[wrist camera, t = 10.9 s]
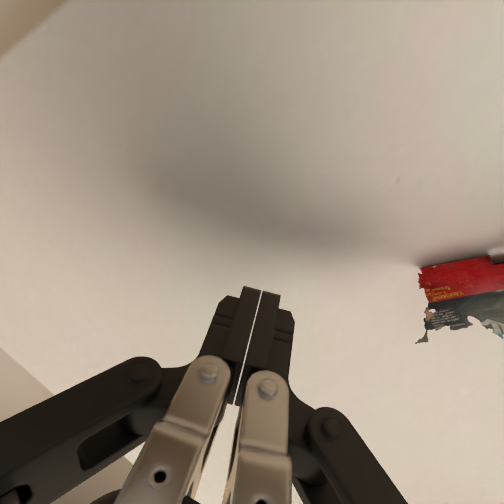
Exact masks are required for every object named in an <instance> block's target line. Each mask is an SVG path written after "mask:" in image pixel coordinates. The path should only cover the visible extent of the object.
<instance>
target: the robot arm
mask: <svg viewBox="0 0 504 504" xmlns="http://www.w3.org/2000/svg"><path fill="white" fill-rule="evenodd" d="M260 293H261V290H258V289H254V288H250V287H246V286H243V289H242V292H241V295H240V298H236V297H232V296H228V295H227V296H226V297H225V298H224V299H223V300H221V301H220V302H219V304H218V306H217V309H216V311H215V315H214V317H213V319H212V322H211V324H210V327H209V329H208V332H207V335H206V337H205V340H204V342H203V345H202V348H201V350H200V353H199V355H198V356H197V358H196V359H195V360H194V361H193V362H191V363H190V364H188V365H185V366H182V367H176V368H161V367H160V365H159V364H158V363H157V362H156V361H155V360H153V359H152V358H149V357H134V358H131V359H129V360H127V361H125V362H122V363H120V364H118V365H116V366H114V367H112V368H110V369H108V370H106V371H104V372H102V373H100V374H98V375H96V376H94V377H92V378H90V379H88V380H86V381H84V382H82V383H79V384H77V385H75V386H73V387H71V388H69V389H67V390H65V391H63V392H61V393H59V394H57V395H55V396H53V397H51V398H49V399H47V400H45V401H43V402H41V403H39V404H37V405H34V406H32V407H30V408H28V409H26V410H24V411H22V412H20V413H18V414H16V415H14V416H12V417H10V418H8V419H6V420H4V421H2V422H0V504H50V503H52V502H53V501H55V500H56V499H58V498H59V497H61V496H62V495H64V494H65V493H67V492H68V491H70V490H72V489H73V488H74V487H76V486H78V485H79V484H81V483H82V482H84V481H85V480H87V479H88V478H90V477H91V476H93V475H94V474H96V473H97V472H99V471H101V470H102V469H103V468H105V467H107V466H108V465H109V464H111V463H113V462H114V461H116V460H117V459H119V458H120V457H122V456H124V455H125V454H127V453H128V452H130V451H131V450H133V449H134V448H136V447H137V446H139V445H140V444H142V443H143V442H145V441H146V442H145V444H144V446H143V448H142V450H141V452H140V454H139V456H138V458H137V459H136V461H135V463H134V465H133V467H132V469H131V471H130V473H129V475H128V477H127V479H126V481H125V483H124V485H123V487H122V488H121V489H119V490H116V491H113V492H110V493H108V494H106V495H103V496H102V497H100V498H98V499H97V500H95V501H93V502H92V503H91V504H200V503H198V502H197V501H195V500H194V498H195V495H196V492H197V488H198V485H199V482H200V479H201V476H202V473H203V470H204V467H205V464H206V462H207V459H208V456H209V453H210V450H211V448H212V445H213V442H214V439H215V436H216V433H217V431H218V428H219V425H220V422H221V421H222V419H223V416H224V413H225V409H226V405H227V403H228V404H232V405H233V401H234V397H235V393H236V389H237V385H238V381H239V377H240V373H241V369H242V365H243V361H244V357H245V353H246V349H247V345H248V341H249V337H250V333H251V329H252V325H253V321H254V317H255V313H256V309H257V305H258V301H259V297H260ZM280 296H281V295H278V294H274V293H270V292H266V291H263V292H262V296H261V300H260V304H259V308H258V312H257V316H256V320H255V324H254V328H253V332H252V336H251V340H250V344H249V348H248V352H247V356H246V360H245V364H244V368H243V372H242V376H241V380H240V384H239V388H238V392H237V397H236V401H235V405H236V406H239V407H240V408H239V413H238V417H237V421H236V425H235V429H234V435H233V441H232V448H231V454H230V461H229V467H228V474H227V480H226V486H225V492H224V496H223V501H222V504H291V502H292V483H293V485H294V487H295V489H296V491H297V492H298V494H299V496H300V498H301V500H302V502H303V504H408V503H407V502H406V500H405V499H404V498H403V496H402V495H401V493H400V492H399V491H398V489H397V488H396V486H395V485H394V484H393V482H392V481H391V479H390V478H389V476H388V475H387V474H386V472H385V471H384V469H383V468H382V467H381V465H380V464H379V462H378V461H377V460H376V458H375V457H374V455H373V454H372V452H371V451H370V450H369V448H368V447H367V445H366V444H365V443H364V441H363V440H362V438H361V437H360V436H359V434H358V433H357V431H356V430H355V429H354V427H353V426H352V424H351V423H350V421H349V420H348V419H347V418H346V417H345V416H344V415H343V414H342V413H341V412H339V411H338V410H336V409H333V408H330V407H321V408H318V409H316V410H315V409H313V408H312V407H310V406H308V405H307V404H305V403H304V402H302V401H301V400H299V399H298V398H297V397H296V396H295V394H294V393H293V392H292V390H291V388H290V385H289V381H288V375H289V367H290V358H291V350H292V341H293V333H294V325H295V322H294V319H293V317H292V314H291V312H290V311H287V310H283V309H279V302H280Z"/></svg>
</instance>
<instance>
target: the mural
mask: <svg viewBox="0 0 504 504" xmlns="http://www.w3.org/2000/svg"><path fill="white" fill-rule="evenodd" d="M420 269H421V271H422V274H419V273H418V275H419V281H418V282H419V284H420V285H419V286H420V288H419V289H421V288H424V289H425V294H426V297H427V300H428V301H429V303H428V307H427V308H426V310H425V312H424V313H425V314H426V318H424V322H425V325H424V326H425V329H426V330H429V329H430V330H432V329H435V330H438V329H441V328H442V327H443V326H450V330H458V329H461V328H467V327H468V326H470V325H473V324H472V323H470V322H469V321H468V319H467V316H473V317H475V318H477V319H478V320H480V322H481V323H482V325H483V326H485V328H487V329H488V328H490V329H494V330H493V332H492V333H494V334H497V335H499V337H501V338H502V339H503V336H502V335H503V334H504V262H502V263H497V264H492V262H491V258H490V255H487V256H481V257H477V258H471V259H466V260H461V261H456V262H451V263H444V264H439V265H435V266H429V267H424V268H420ZM430 309H435V310H436V312H434V313H432V312H429V310H430ZM420 342H428V337H427V331H426V333H425V335H424V337H423V338H422V339H419V340H418V342H416V343H420ZM416 343H415V344H416Z"/></svg>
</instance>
